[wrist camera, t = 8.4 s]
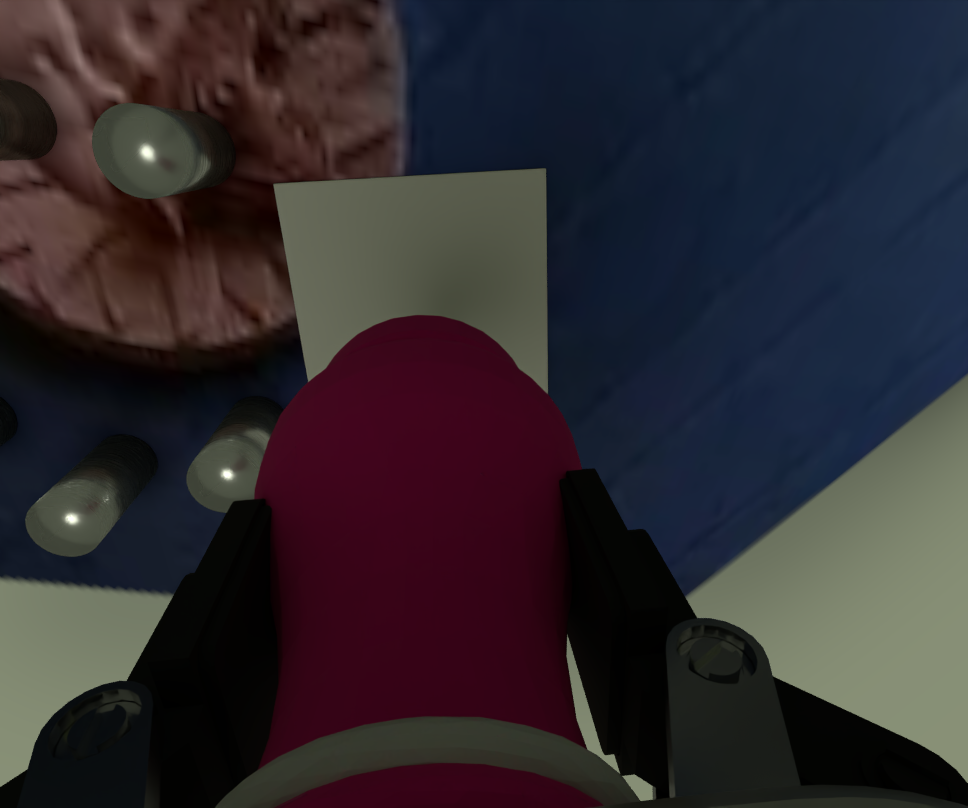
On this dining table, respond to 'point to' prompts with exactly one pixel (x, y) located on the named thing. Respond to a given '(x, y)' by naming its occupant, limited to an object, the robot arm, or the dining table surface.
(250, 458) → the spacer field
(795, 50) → the dining table surface
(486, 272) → the mat
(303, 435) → the pepper mill
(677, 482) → the dining table surface
